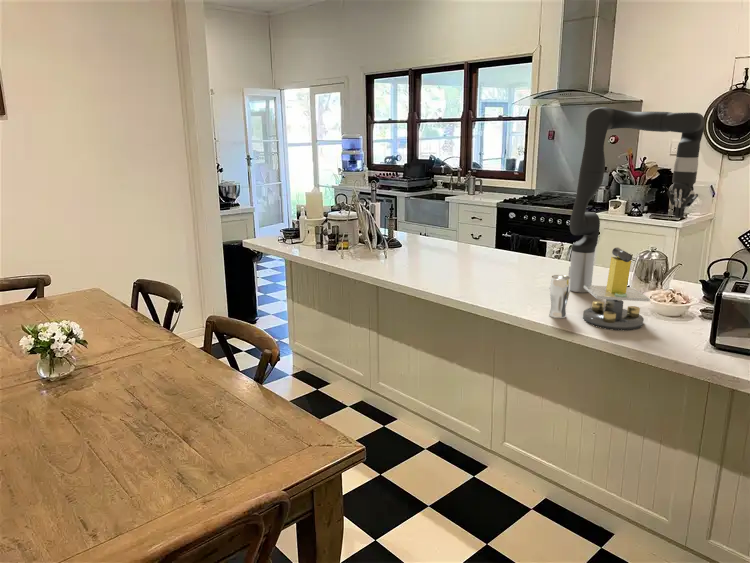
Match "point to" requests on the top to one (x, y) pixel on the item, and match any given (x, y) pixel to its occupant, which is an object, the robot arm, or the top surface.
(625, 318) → the disc with brass knobs
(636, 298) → the yellow block with roller
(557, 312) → the beer glass
